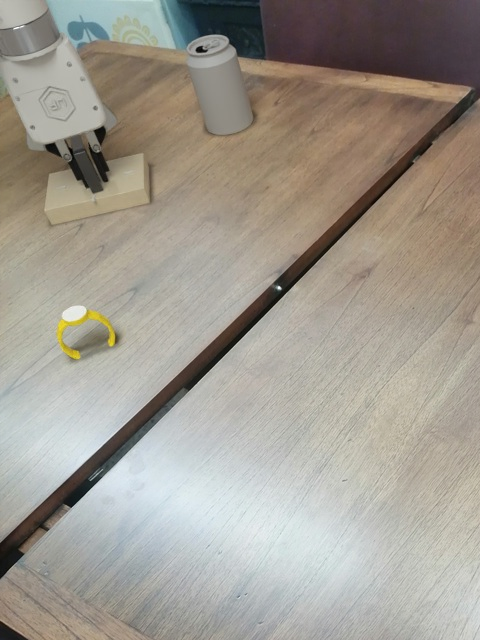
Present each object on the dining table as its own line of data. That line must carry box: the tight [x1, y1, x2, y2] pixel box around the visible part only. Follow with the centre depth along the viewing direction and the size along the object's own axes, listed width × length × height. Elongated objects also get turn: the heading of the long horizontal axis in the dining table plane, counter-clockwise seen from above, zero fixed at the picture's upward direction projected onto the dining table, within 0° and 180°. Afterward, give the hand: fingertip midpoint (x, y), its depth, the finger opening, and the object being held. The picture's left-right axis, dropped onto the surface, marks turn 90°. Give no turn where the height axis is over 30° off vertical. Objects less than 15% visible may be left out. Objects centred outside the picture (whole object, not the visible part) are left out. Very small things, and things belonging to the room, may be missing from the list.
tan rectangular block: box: [43, 152, 151, 226], centre depth 99 cm, size 14×11×3 cm
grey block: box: [69, 134, 103, 193], centre depth 96 cm, size 7×2×6 cm, turn 21°
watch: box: [55, 305, 116, 360], centre depth 78 cm, size 6×3×6 cm, turn 115°
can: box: [185, 34, 254, 136], centre depth 104 cm, size 8×8×12 cm
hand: (95, 179), depth 98 cm, fingers closed
